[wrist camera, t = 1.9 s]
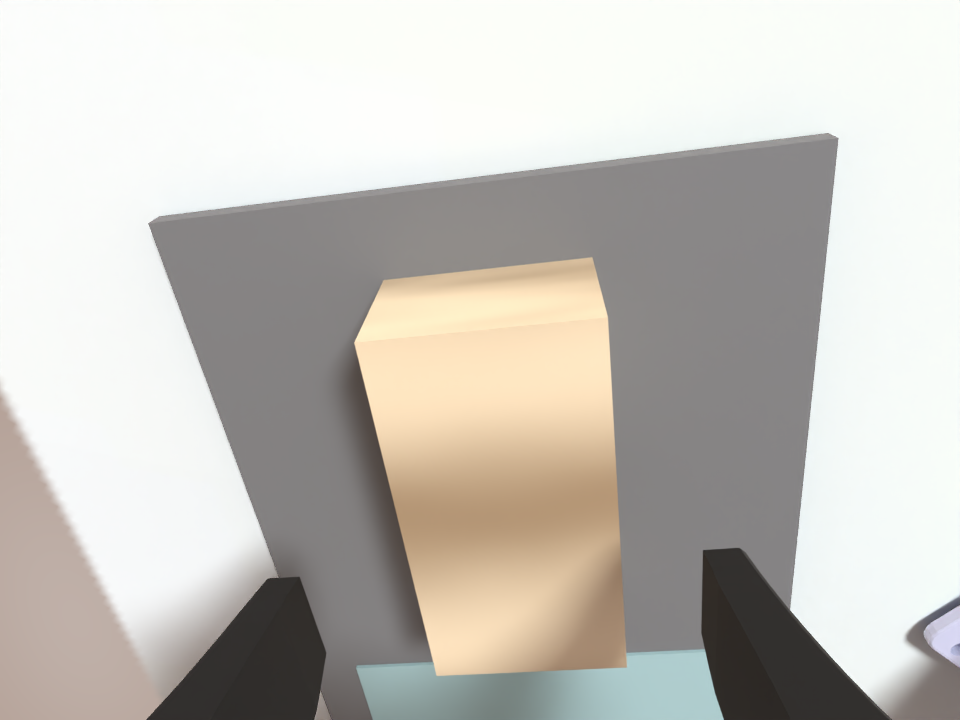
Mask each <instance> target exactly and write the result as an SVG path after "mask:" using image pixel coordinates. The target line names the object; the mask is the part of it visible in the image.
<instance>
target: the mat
mask: <svg viewBox="0 0 960 720" xmlns="http://www.w3.org/2000/svg"><path fill="white" fill-rule="evenodd" d="M837 146H838V138H837V137H835V136H833V135H831V134H829V133H826V134H818V135H810V136H802V137H794V138H786V139H778V140H770V141H762V142H754V143H746V144H738V145H729V146H721V147H713V148H705V149H697V150H689V151H681V152H673V153H665V154H657V155H649V156H641V157H633V158H625V159H617V160H609V161H601V162H593V163H585V164H577V165H569V166H561V167H553V168H545V169H537V170H529V171H521V172H513V173H505V174H497V175H489V176H481V177H473V178H465V179H457V180H448V181H440V182H432V183H424V184H416V185H408V186H400V187H392V188H384V189H376V190H368V191H360V192H352V193H344V194H336V195H328V196H320V197H312V198H304V199H296V200H288V201H280V202H272V203H264V204H256V205H248V206H240V207H232V208H224V209H216V210H208V211H200V212H192V213H184V214H176V215H168V216H159V217H158V218H156V219H155V220H153V221H151V222H150V223H148V224H149V226H150V229H151V232H152V235H153V237H154V240H155V243H156V245H157V248H158V251H159V253H160V256H161V259H162V262H163V264H164V267H165V270H166V272H167V275H168V278H169V281H170V283H171V286H172V289H173V291H174V294H175V297H176V299H177V302H178V305H179V308H180V310H181V313H182V316H183V318H184V321H185V324H186V327H187V329H188V332H189V335H190V337H191V340H192V343H193V345H194V348H195V351H196V354H197V356H198V359H199V362H200V364H201V367H202V370H203V373H204V375H205V378H206V381H207V383H208V386H209V389H210V391H211V394H212V397H213V400H214V402H215V405H216V408H217V410H218V413H219V416H220V419H221V421H222V424H223V427H224V429H225V432H226V435H227V437H228V440H229V443H230V446H231V448H232V451H233V454H234V456H235V459H236V462H237V465H238V467H239V470H240V473H241V475H242V478H243V481H244V483H245V486H246V489H247V492H248V494H249V497H250V500H251V502H252V505H253V508H254V511H255V513H256V516H257V519H258V521H259V524H260V527H261V529H262V532H263V535H264V538H265V540H266V543H267V546H268V548H269V551H270V554H271V557H272V559H273V562H274V565H275V567H276V570H277V573H278V575H279V578H286V577H300V579H301V582H302V585H303V588H304V590H305V593H306V596H307V599H308V602H309V605H310V607H311V610H312V613H313V616H314V619H315V622H316V625H317V627H318V630H319V633H320V636H321V639H322V642H323V644H324V647H325V650H326V659H325V665H324V671H323V677H322V684H321V692H322V694H323V697H324V700H325V703H326V705H327V708H328V711H329V713H330V716H331V719H332V720H724V719H723V716H722V713H721V710H720V707H719V704H718V701H717V698H716V695H715V691H714V687H713V683H712V678H711V674H710V670H709V666H708V661H707V657H706V652H705V648H704V643H703V638H702V634H701V620H702V570H703V550H711V549H727V548H741V549H742V550H743V551H744V552H746V554H747V555H748V556H749V558H750V559H751V561H752V562H753V563H754V565H755V566H756V567H757V569H758V570H759V571H760V573H761V574H762V575H763V577H764V578H765V579H766V581H767V582H768V583H769V585H770V586H771V587H772V588H773V590H774V591H775V592H776V593H777V595H778V596H779V597H780V598H781V600H782V601H783V602H784V603H785V605H786V606H787V607H788V608H789V610H790V604H791V594H792V584H793V575H794V565H795V555H796V545H797V536H798V526H799V516H800V507H801V497H802V487H803V477H804V468H805V458H806V448H807V438H808V429H809V419H810V409H811V399H812V390H813V380H814V370H815V360H816V351H817V341H818V331H819V322H820V312H821V302H822V292H823V283H824V273H825V263H826V253H827V244H828V234H829V224H830V214H831V205H832V195H833V185H834V175H835V166H836V156H837ZM590 257H592V258H593V262H594V266H595V269H596V273H597V277H598V281H599V285H600V289H601V292H602V296H603V300H604V304H605V308H606V312H607V316H608V327H609V346H610V364H611V382H612V401H613V419H614V437H615V456H616V474H617V492H618V511H619V529H620V547H621V566H622V584H623V602H624V621H625V639H626V658H627V668H605V669H583V670H560V671H538V672H515V673H493V674H470V675H448V676H437V675H436V671H435V667H434V663H433V659H432V655H431V651H430V647H429V643H428V639H427V635H426V631H425V627H424V623H423V619H422V615H421V611H420V606H419V602H418V598H417V594H416V590H415V586H414V582H413V578H412V574H411V570H410V566H409V562H408V558H407V554H406V550H405V546H404V542H403V538H402V534H401V530H400V526H399V522H398V518H397V513H396V509H395V505H394V501H393V497H392V493H391V489H390V485H389V481H388V477H387V473H386V469H385V465H384V461H383V457H382V453H381V449H380V445H379V441H378V437H377V433H376V429H375V425H374V420H373V416H372V412H371V408H370V404H369V400H368V396H367V392H366V388H365V384H364V380H363V376H362V372H361V368H360V364H359V360H358V356H357V352H356V348H355V344H354V342H355V340H356V338H357V336H358V334H359V332H360V329H361V327H362V325H363V323H364V321H365V319H366V317H367V314H368V312H369V310H370V308H371V306H372V304H373V302H374V300H375V297H376V295H377V293H378V291H379V289H380V287H381V285H382V283H383V280H390V279H399V278H408V277H417V276H426V275H435V274H444V273H453V272H463V271H472V270H481V269H490V268H499V267H508V266H517V265H526V264H536V263H545V262H554V261H563V260H572V259H581V258H590Z"/></svg>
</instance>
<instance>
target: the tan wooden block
mask: <svg viewBox="0 0 960 720" xmlns="http://www.w3.org/2000/svg"><path fill="white" fill-rule="evenodd" d="M354 344H355V348H356V352H357V356H358V360H359V364H360V368H361V372H362V376H363V380H364V384H365V388H366V392H367V396H368V400H369V404H370V408H371V412H372V416H373V420H374V425H375V429H376V433H377V437H378V441H379V445H380V449H381V453H382V457H383V461H384V465H385V469H386V473H387V477H388V481H389V485H390V489H391V493H392V497H393V501H394V505H395V509H396V513H397V518H398V522H399V526H400V530H401V534H402V538H403V542H404V546H405V550H406V554H407V558H408V562H409V566H410V570H411V574H412V578H413V582H414V586H415V590H416V594H417V598H418V602H419V606H420V611H421V615H422V619H423V623H424V627H425V631H426V635H427V639H428V643H429V647H430V651H431V655H432V659H433V663H434V667H435V671H436V675H437V676H448V675H470V674H493V673H515V672H538V671H560V670H583V669H605V668H627V658H626V639H625V621H624V602H623V584H622V566H621V547H620V529H619V511H618V492H617V474H616V456H615V437H614V419H613V401H612V382H611V364H610V346H609V327H608V316H607V312H606V308H605V304H604V300H603V296H602V292H601V289H600V285H599V281H598V277H597V273H596V269H595V266H594V262H593V258H592V257H590V258H581V259H572V260H563V261H554V262H545V263H536V264H526V265H517V266H508V267H499V268H490V269H481V270H472V271H463V272H453V273H444V274H435V275H426V276H417V277H408V278H399V279H390V280H383V283H382V285H381V287H380V289H379V291H378V293H377V295H376V297H375V300H374V302H373V304H372V306H371V308H370V310H369V312H368V314H367V317H366V319H365V321H364V323H363V325H362V327H361V329H360V332H359V334H358V336H357V338H356V340H355V342H354Z"/></svg>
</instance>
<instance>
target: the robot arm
mask: <svg viewBox="0 0 960 720" xmlns="http://www.w3.org/2000/svg"><path fill="white" fill-rule="evenodd" d="M701 634H702V638H703V643H704V648H705V652H706V657H707V661H708V666H709V670H710V674H711V678H712V683H713V687H714V691H715V695H716V698H717V701H718V704H719V707H720V710H721V713H722V716H723V719H724V720H892V719H891V718H889V717H888V716H887V715H886V714H885V713H884V712H883V711H882V710H881V709H880V708H879V707H878V706H877V705H876V704H875V703H874V702H873V701H872V700H871V699H870V698H869V697H868V696H867V695H866V694H865V693H864V692H863V690H862V689H861V688H860V687H859V686H858V685H857V684H856V683H855V682H854V681H853V680H852V679H851V678H850V677H849V676H848V675H847V674H846V673H845V672H844V671H843V670H842V669H841V668H840V666H839V665H838V664H837V663H836V662H835V661H834V660H833V659H832V658H831V657H830V656H829V654H828V653H827V652H826V651H825V650H824V649H823V648H822V647H821V645H820V644H819V643H818V642H817V641H816V640H815V639H814V638H813V636H812V635H811V634H810V633H809V632H808V631H807V630H806V628H805V627H804V626H803V625H802V624H801V623H800V621H799V620H798V619H797V618H796V617H795V616H794V614H793V613H792V612H791V611H790V610H789V608H788V607H787V606H786V605H785V603H784V602H783V601H782V600H781V598H780V597H779V596H778V595H777V593H776V592H775V591H774V590H773V588H772V587H771V586H770V585H769V583H768V582H767V581H766V579H765V578H764V577H763V575H762V574H761V573H760V571H759V570H758V569H757V567H756V566H755V565H754V563H753V562H752V561H751V559H750V558H749V556H748V555H747V554H746V552H744V551H743V550H742V549H741V548H727V549H711V550H703V570H702V620H701ZM924 637H925V639H926V641H927V642H928V644H929V645H930V647H931V648H932V649H933V650H934V651H936V652H937V653H939V654H940V655H941V656H943V657H944V658H946V659H947V660H949V661H950V662H951V663H953V664H954V665H956V666H957V667H958V668H960V605H959V606H957V607H956V608H954V609H953V610H951V611H949V612H948V613H946V614H944V615H943V616H941V617H939V618H938V619H936V620H935V621H933V622H931V623H930V624H929V625H928V626H927V627H926V629H925V631H924ZM325 659H326V650H325V647H324V644H323V642H322V639H321V636H320V633H319V630H318V627H317V625H316V622H315V619H314V616H313V613H312V610H311V607H310V605H309V602H308V599H307V596H306V593H305V590H304V588H303V585H302V582H301V579H300V577H286V578H270V579H267V580H266V582H265V583H264V584H263V585H262V586H261V587H260V589H259V590H258V591H257V592H256V593H255V594H254V596H253V597H252V598H251V599H250V600H249V602H248V603H247V604H246V605H245V606H244V608H243V609H242V610H241V611H240V612H239V614H238V615H237V616H236V617H235V619H234V620H233V621H232V622H231V623H230V625H229V626H228V627H227V628H226V629H225V631H224V632H223V633H222V634H221V636H220V637H219V638H218V639H217V640H216V642H215V643H214V644H213V645H212V646H211V647H210V649H209V650H208V651H207V652H206V653H205V655H204V656H203V657H202V658H201V659H200V660H199V662H198V663H197V664H196V665H195V666H194V667H193V669H192V670H191V671H190V672H189V673H188V674H187V676H186V677H185V678H184V679H183V680H182V681H181V682H180V684H179V685H178V686H177V687H176V688H175V689H174V690H173V691H172V692H171V694H170V695H169V696H168V697H167V698H166V699H165V700H164V701H163V702H162V703H161V704H160V705H159V707H158V708H157V709H156V710H155V711H154V712H153V713H152V714H151V715H150V716H149V717H148V718H147V720H314V717H315V714H316V710H317V705H318V700H319V694H320V689H321V684H322V677H323V671H324V665H325Z"/></svg>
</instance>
